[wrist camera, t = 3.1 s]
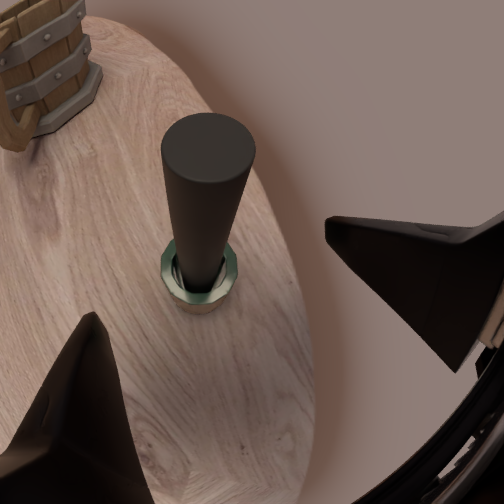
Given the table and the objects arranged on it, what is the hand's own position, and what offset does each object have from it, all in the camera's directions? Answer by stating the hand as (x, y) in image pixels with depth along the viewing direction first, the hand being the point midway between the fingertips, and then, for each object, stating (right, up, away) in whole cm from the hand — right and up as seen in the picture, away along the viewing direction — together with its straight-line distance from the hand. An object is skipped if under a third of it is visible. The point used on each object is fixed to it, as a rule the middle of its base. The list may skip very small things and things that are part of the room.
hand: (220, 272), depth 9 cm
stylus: (-3, -2, +9) cm, 10 cm away
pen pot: (-3, -2, +9) cm, 10 cm away
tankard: (-22, +15, +11) cm, 29 cm away
